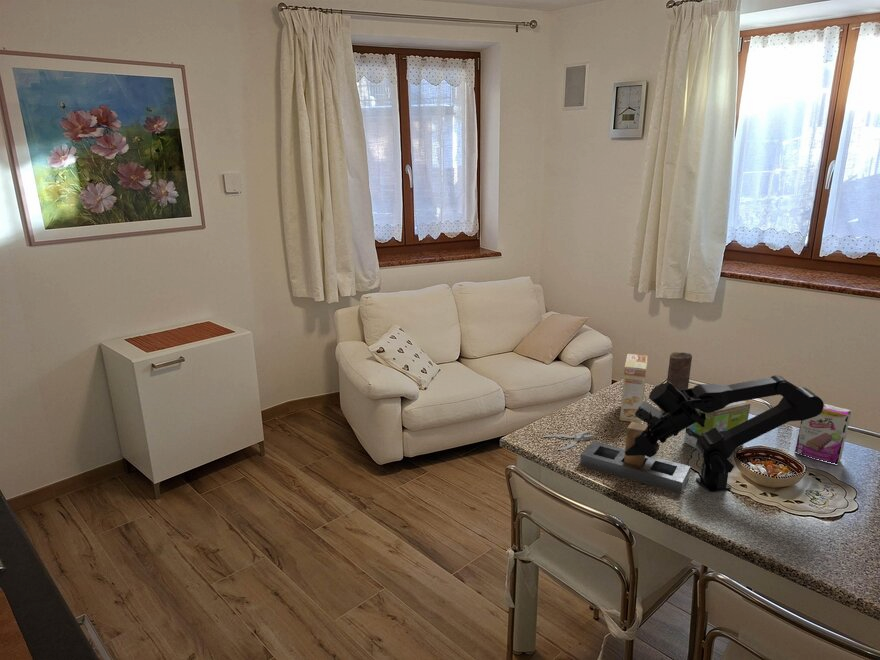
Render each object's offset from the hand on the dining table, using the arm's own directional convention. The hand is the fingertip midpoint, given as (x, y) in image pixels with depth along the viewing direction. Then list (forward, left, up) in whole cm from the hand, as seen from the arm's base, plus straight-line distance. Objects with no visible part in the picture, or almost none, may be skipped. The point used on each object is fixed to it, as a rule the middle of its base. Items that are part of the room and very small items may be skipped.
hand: (630, 447), depth 166 cm
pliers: (+21, +8, -8) cm, 24 cm away
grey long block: (-1, -1, -7) cm, 7 cm away
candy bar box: (-8, -58, -7) cm, 59 cm away
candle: (+35, -40, -7) cm, 54 cm away
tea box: (+7, -34, -7) cm, 35 cm away
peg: (-1, -1, -7) cm, 7 cm away
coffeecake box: (+34, -22, -7) cm, 41 cm away
